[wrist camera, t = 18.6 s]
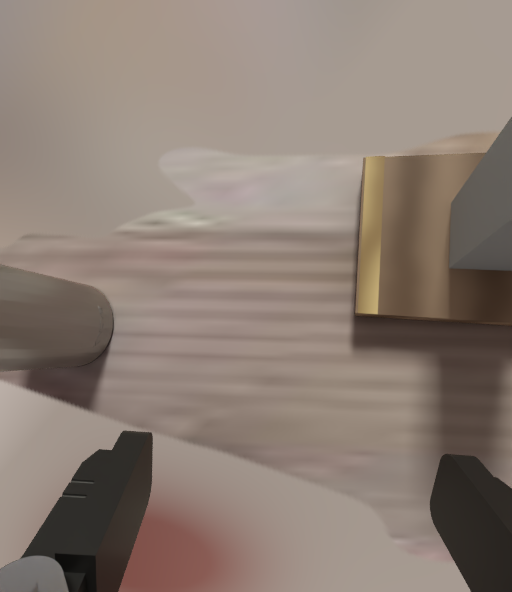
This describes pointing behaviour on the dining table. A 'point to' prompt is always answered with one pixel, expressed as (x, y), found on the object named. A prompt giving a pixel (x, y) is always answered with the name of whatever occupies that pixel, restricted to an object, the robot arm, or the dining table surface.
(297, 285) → the dining table surface
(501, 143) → the grey open box
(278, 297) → the dining table surface
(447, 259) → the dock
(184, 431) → the dining table surface
